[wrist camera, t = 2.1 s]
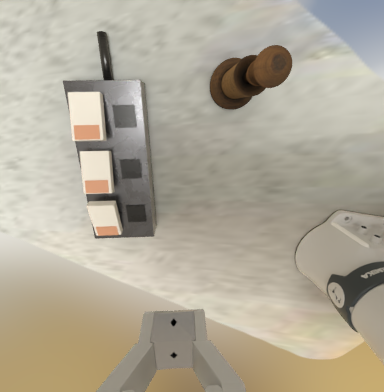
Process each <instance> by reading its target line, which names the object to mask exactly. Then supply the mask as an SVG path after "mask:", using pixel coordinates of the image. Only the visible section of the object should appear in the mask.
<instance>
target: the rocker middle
mask: <svg viewBox="0 0 384 392" xmlns="http://www.w3.org/2000/svg"><path fill="white" fill-rule="evenodd" d="M80 162H81V172H82V182H83V192H84V194H99V193H113V192H114V180H113V167H112V154H111V151H80Z"/></svg>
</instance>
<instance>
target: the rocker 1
mask: <svg viewBox="0 0 384 392" xmlns="http://www.w3.org/2000/svg"><path fill="white" fill-rule="evenodd" d="M68 101H69V111H70V121H71V131H72V140H73V141H106V128H105V115H104V103H103V94H102V93H100V92H68Z"/></svg>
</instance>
